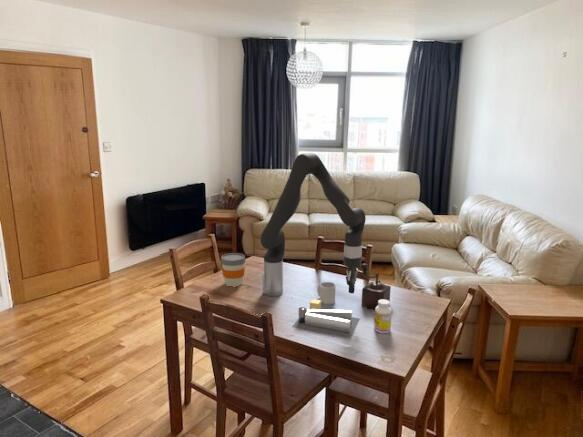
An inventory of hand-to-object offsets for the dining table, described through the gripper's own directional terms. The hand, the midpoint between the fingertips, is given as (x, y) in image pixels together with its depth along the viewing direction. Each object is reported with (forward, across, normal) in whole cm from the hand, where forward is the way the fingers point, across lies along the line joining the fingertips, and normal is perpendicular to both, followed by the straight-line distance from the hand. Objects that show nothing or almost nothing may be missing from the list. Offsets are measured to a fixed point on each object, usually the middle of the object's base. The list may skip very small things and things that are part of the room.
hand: (351, 292), depth 185 cm
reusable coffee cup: (+12, -15, -66) cm, 69 cm away
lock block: (+11, +4, -15) cm, 19 cm away
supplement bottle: (+12, +6, +15) cm, 20 cm away
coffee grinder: (+12, -17, +6) cm, 22 cm away
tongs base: (+11, +13, -8) cm, 19 cm away
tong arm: (+11, +8, -8) cm, 15 cm away
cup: (+12, -12, -15) cm, 23 cm away
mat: (+12, +10, -8) cm, 17 cm away
